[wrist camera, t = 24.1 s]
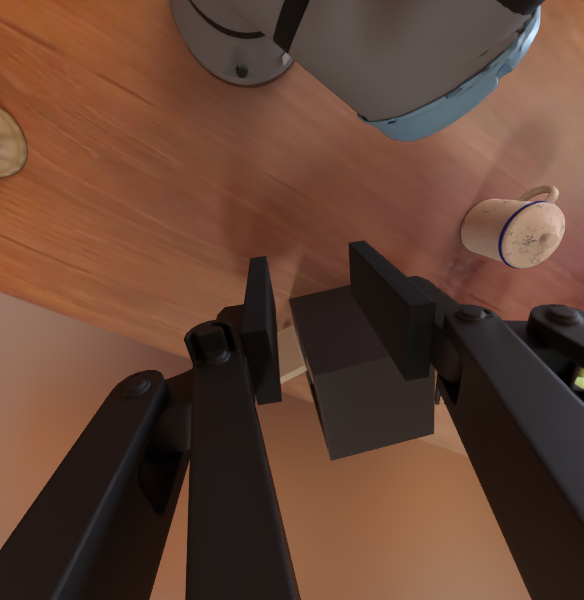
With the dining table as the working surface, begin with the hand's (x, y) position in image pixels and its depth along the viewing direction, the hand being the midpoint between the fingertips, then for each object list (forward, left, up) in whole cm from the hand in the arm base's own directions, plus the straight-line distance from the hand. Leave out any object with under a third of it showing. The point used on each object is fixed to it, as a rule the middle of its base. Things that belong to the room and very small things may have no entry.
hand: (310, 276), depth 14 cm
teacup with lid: (+25, +26, -30) cm, 47 cm away
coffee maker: (+21, -5, -30) cm, 37 cm away
